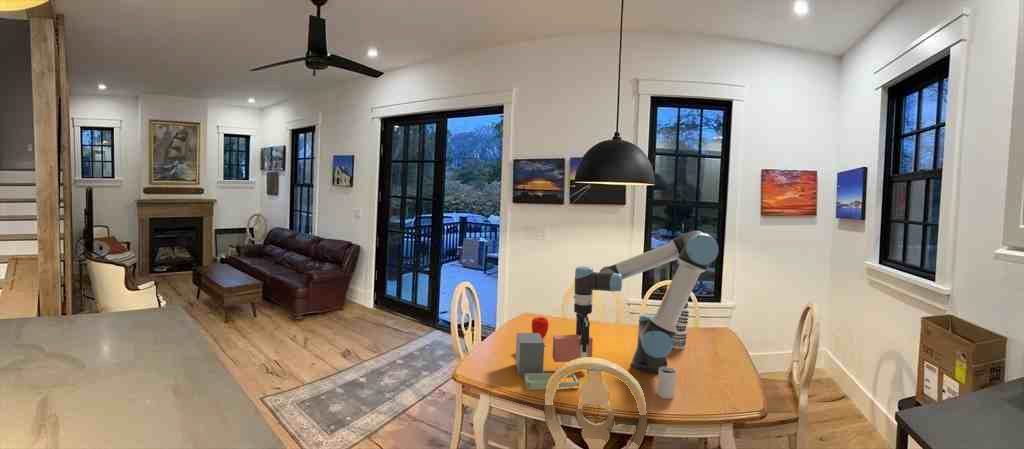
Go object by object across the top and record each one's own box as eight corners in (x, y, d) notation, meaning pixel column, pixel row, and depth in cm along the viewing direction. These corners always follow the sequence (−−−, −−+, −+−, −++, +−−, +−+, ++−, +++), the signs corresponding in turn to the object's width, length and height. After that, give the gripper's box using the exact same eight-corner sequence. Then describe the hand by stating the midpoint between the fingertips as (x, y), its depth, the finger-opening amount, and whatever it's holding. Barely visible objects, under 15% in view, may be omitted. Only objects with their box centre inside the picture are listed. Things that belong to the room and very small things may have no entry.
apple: (542, 342, 230) (543, 321, 229) (527, 338, 235) (528, 318, 234) (550, 337, 238) (551, 317, 237) (536, 334, 242) (537, 314, 242)
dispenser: (539, 364, 202) (541, 333, 201) (544, 376, 190) (546, 343, 189) (515, 364, 201) (516, 332, 200) (518, 376, 189) (520, 342, 188)
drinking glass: (658, 398, 174) (660, 372, 173) (655, 390, 181) (657, 365, 180) (676, 400, 173) (678, 374, 172) (673, 392, 180) (675, 367, 179)
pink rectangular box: (588, 356, 200) (589, 334, 199) (591, 361, 195) (592, 338, 194) (552, 357, 199) (553, 335, 198) (554, 362, 194) (555, 338, 193)
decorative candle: (667, 347, 231) (671, 298, 228) (666, 341, 239) (670, 294, 237) (686, 350, 228) (690, 300, 226) (685, 344, 237) (689, 296, 234)
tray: (573, 379, 188) (573, 373, 188) (578, 389, 179) (579, 382, 179) (524, 379, 186) (524, 373, 186) (527, 389, 177) (527, 383, 177)
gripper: (569, 298, 204) (568, 349, 206) (579, 309, 186) (578, 364, 188) (586, 298, 205) (584, 348, 207) (597, 308, 187) (596, 364, 189)
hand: (581, 356), depth 197 cm, fingers closed on pink rectangular box, 5 cm apart
